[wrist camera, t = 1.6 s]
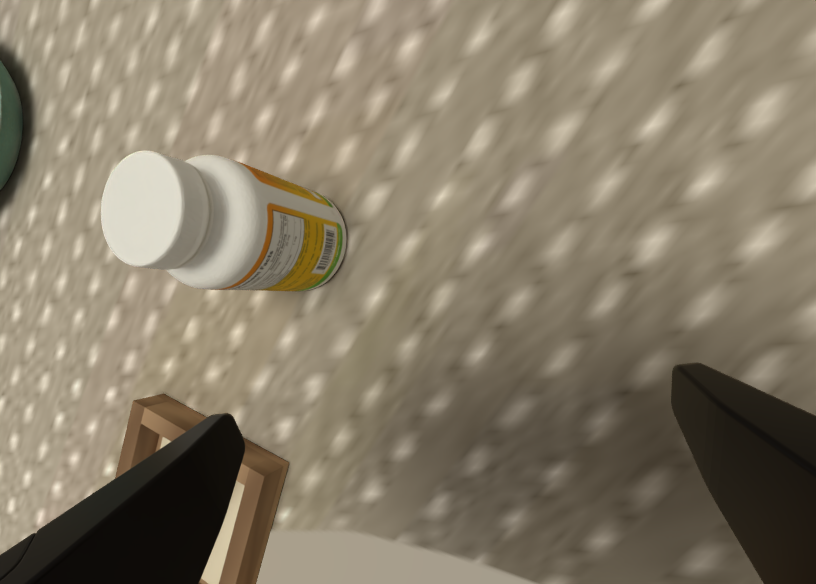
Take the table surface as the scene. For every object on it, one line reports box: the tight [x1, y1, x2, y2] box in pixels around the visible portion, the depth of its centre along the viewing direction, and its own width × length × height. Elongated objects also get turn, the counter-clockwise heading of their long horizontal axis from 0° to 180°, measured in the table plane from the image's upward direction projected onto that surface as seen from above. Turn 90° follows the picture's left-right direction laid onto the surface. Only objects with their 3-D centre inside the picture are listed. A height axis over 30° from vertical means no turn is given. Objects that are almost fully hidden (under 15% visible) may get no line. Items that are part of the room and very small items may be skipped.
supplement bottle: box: [101, 151, 346, 291], centre depth 19 cm, size 5×5×10 cm
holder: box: [115, 394, 289, 584], centre depth 25 cm, size 10×10×2 cm
